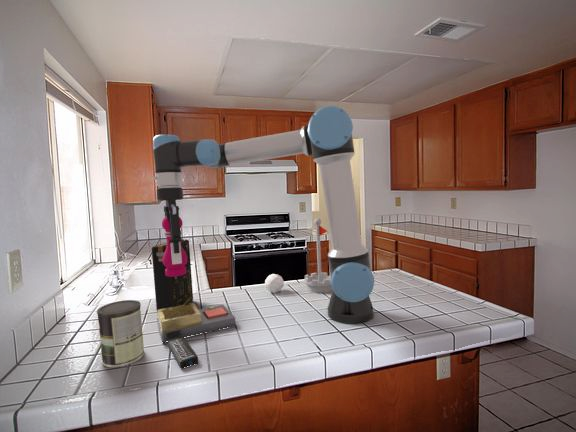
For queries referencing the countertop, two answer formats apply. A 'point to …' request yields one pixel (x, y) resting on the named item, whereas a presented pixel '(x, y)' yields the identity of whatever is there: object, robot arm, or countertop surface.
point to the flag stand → (321, 280)
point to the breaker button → (215, 313)
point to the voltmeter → (171, 280)
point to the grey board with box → (190, 321)
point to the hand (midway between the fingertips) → (175, 261)
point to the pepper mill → (167, 258)
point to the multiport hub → (182, 352)
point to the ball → (274, 283)
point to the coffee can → (120, 333)
